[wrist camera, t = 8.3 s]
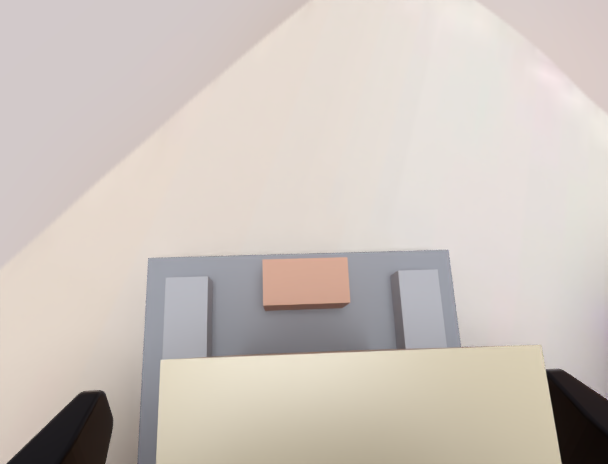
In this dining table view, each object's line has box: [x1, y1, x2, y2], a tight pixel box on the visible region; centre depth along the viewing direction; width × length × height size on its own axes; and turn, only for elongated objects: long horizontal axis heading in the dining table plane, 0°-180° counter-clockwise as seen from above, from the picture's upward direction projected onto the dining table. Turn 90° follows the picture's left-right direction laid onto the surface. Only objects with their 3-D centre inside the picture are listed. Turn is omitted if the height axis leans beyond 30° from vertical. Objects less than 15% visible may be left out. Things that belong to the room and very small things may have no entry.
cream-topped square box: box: [156, 345, 562, 464], centre depth 11 cm, size 4×5×11 cm
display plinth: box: [137, 250, 461, 464], centre depth 16 cm, size 12×12×4 cm
